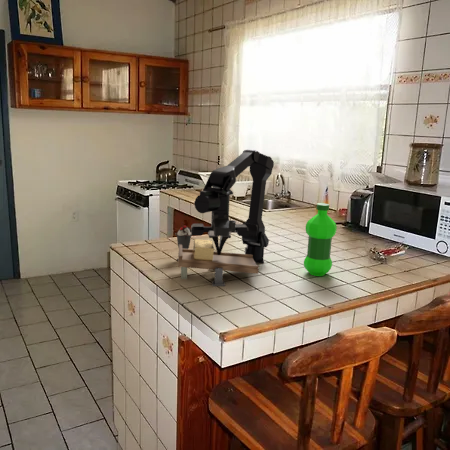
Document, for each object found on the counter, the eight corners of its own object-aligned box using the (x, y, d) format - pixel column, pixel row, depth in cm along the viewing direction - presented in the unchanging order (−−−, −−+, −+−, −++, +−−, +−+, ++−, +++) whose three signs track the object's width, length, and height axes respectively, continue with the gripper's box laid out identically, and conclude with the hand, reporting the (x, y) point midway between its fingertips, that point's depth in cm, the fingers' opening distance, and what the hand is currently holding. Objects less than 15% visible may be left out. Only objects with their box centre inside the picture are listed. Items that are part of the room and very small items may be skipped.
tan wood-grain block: (210, 254, 158) (211, 240, 157) (212, 263, 148) (214, 248, 147) (192, 252, 157) (194, 239, 156) (193, 261, 147) (195, 247, 146)
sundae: (176, 263, 167) (176, 223, 164) (173, 257, 173) (173, 219, 170) (193, 262, 169) (194, 222, 165) (190, 257, 175) (191, 218, 172)
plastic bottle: (338, 276, 160) (345, 206, 154) (314, 280, 154) (321, 207, 149) (318, 267, 168) (324, 201, 162) (296, 271, 163) (301, 202, 157)
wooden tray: (251, 261, 162) (252, 250, 162) (257, 275, 148) (259, 263, 147) (178, 255, 159) (179, 244, 158) (178, 268, 145) (179, 256, 144)
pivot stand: (219, 267, 164) (220, 252, 163) (224, 286, 146) (225, 269, 144) (180, 267, 163) (181, 252, 161) (180, 285, 144) (181, 269, 143)
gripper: (192, 213, 141) (191, 261, 144) (252, 214, 143) (249, 262, 146) (191, 206, 151) (190, 251, 155) (247, 207, 153) (244, 252, 157)
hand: (218, 254), depth 153 cm, fingers closed
